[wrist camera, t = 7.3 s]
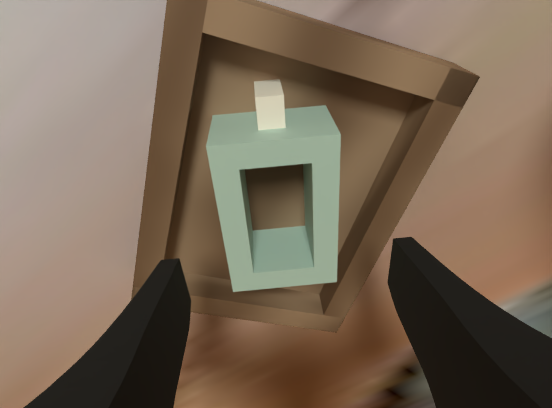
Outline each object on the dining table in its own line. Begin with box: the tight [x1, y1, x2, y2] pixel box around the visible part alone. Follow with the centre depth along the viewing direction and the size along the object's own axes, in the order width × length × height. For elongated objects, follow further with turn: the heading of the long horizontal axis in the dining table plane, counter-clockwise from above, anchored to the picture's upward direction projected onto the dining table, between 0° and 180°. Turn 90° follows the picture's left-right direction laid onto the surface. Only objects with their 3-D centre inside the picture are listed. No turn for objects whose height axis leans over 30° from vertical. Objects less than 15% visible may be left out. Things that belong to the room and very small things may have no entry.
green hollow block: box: [206, 79, 341, 292], centre depth 16 cm, size 8×5×3 cm, turn 4°
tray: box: [131, 0, 480, 332], centre depth 17 cm, size 11×14×2 cm
